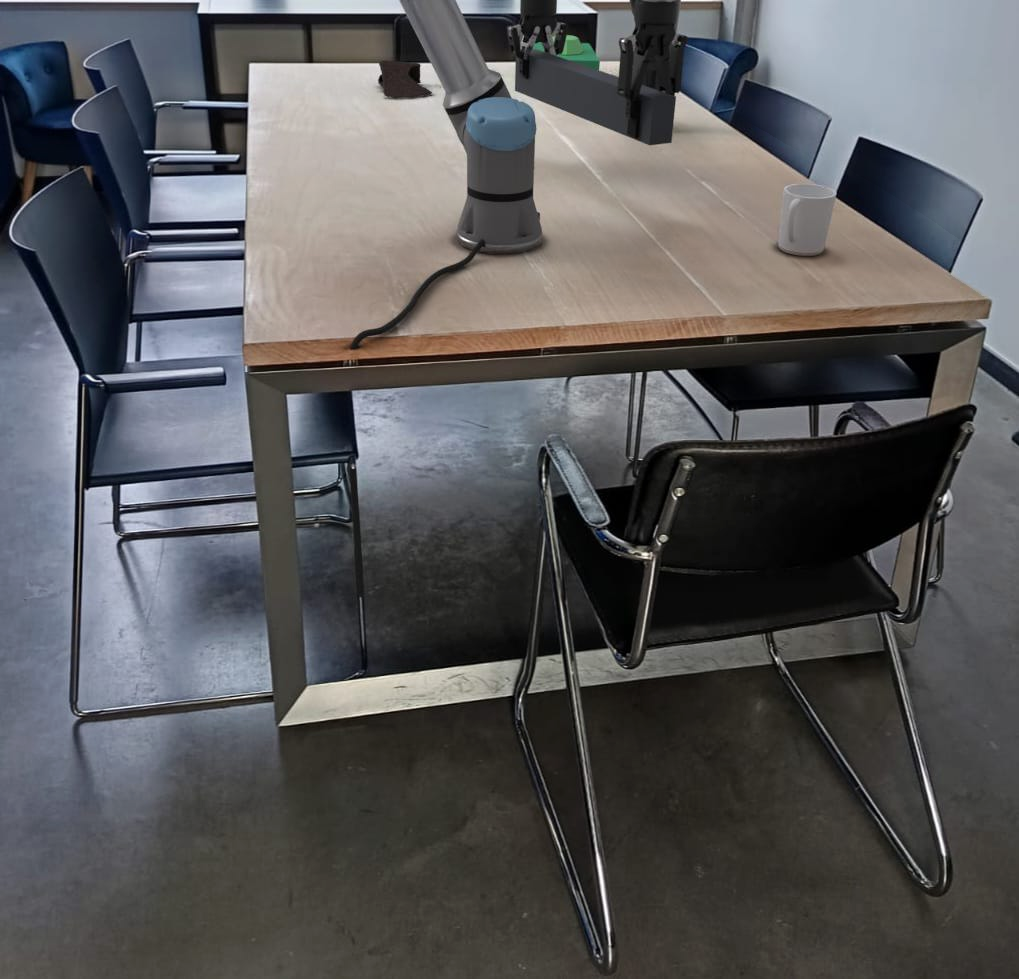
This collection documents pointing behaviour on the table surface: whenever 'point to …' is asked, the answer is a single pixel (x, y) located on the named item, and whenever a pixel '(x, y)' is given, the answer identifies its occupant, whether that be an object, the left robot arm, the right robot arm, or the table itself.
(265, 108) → the table surface
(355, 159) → the table surface
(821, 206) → the mug
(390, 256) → the table surface
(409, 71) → the axe head
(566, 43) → the toy tank
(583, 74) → the beam
